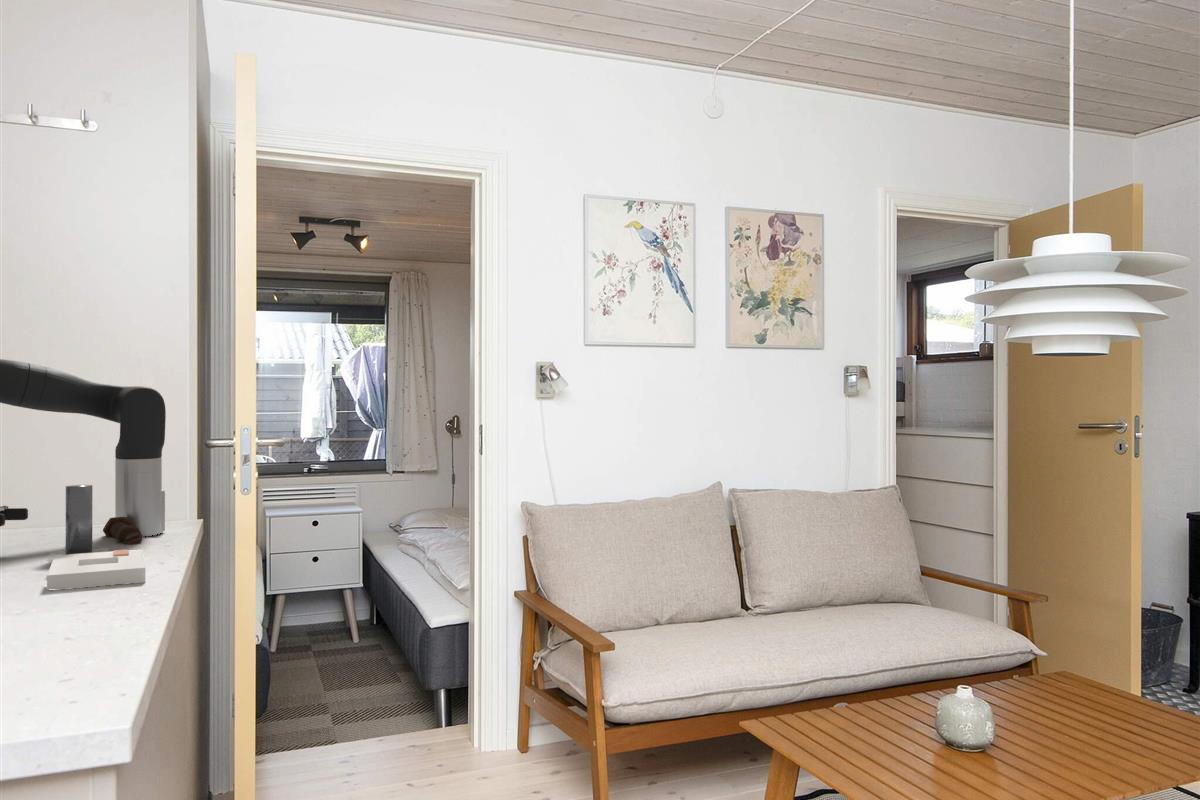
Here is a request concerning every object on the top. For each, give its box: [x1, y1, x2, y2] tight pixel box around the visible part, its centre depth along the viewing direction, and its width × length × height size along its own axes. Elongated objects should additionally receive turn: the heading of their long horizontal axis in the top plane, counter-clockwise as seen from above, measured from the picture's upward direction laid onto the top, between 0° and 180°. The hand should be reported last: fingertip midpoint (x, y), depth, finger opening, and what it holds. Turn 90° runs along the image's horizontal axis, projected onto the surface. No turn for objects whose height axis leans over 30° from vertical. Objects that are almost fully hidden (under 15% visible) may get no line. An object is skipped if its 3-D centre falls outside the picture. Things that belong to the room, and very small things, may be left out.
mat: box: [46, 547, 110, 562], centre depth 168 cm, size 10×10×1 cm
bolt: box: [102, 517, 143, 546], centre depth 186 cm, size 6×5×15 cm
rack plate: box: [46, 548, 146, 591], centre depth 153 cm, size 20×14×3 cm
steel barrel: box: [65, 484, 93, 555], centre depth 168 cm, size 4×4×13 cm
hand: (15, 517), depth 167 cm, fingers open, 8 cm apart
